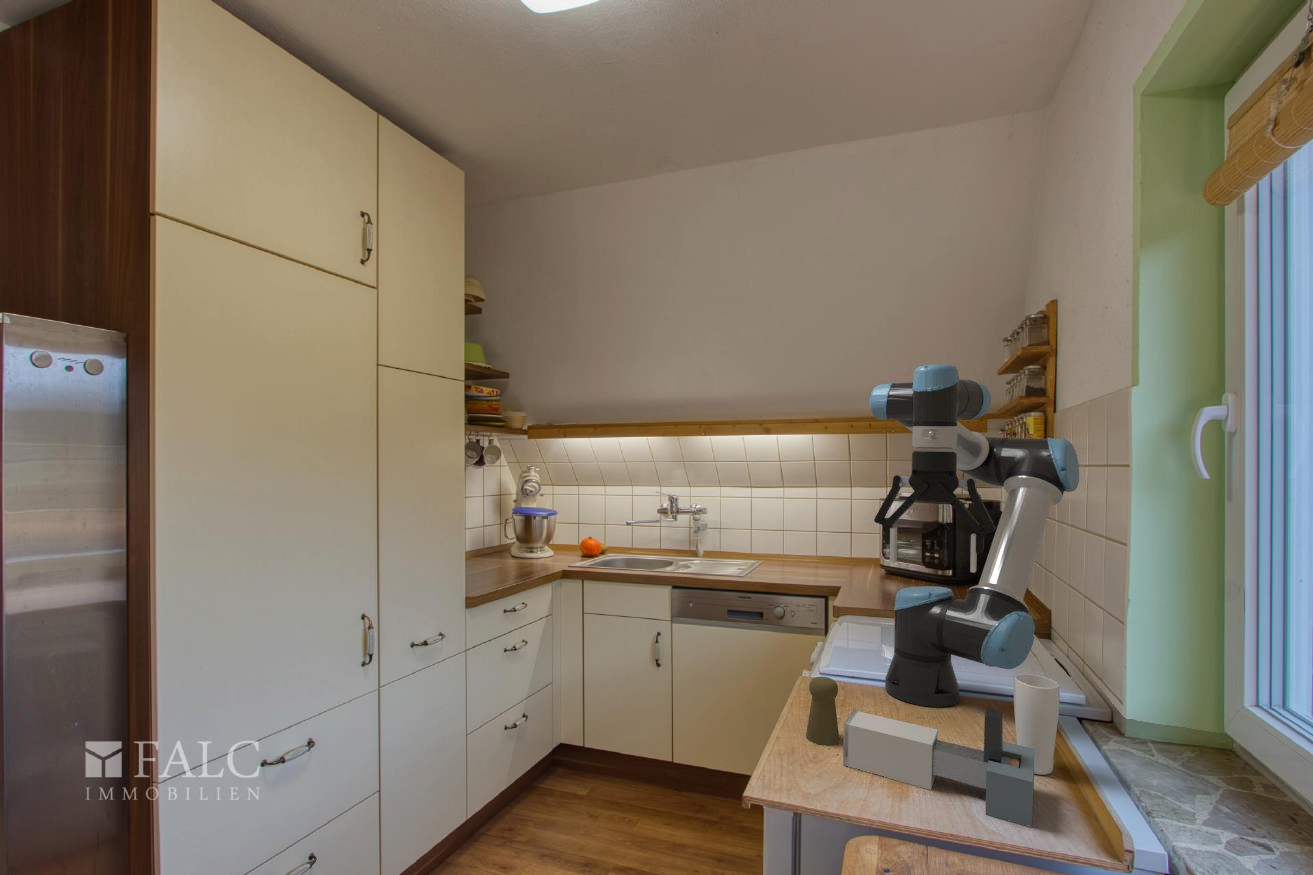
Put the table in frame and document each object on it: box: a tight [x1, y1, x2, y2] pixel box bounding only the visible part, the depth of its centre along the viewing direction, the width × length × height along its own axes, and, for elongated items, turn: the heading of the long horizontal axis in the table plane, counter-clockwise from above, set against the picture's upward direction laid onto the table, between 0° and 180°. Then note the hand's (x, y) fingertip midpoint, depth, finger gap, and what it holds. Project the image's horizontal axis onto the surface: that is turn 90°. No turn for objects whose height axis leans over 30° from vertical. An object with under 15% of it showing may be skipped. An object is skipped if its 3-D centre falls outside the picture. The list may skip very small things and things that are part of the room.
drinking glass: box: [1013, 673, 1061, 776], centre depth 112 cm, size 7×7×15 cm
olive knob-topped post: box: [805, 676, 840, 746], centre depth 122 cm, size 6×6×11 cm
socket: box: [985, 741, 1035, 827], centre depth 101 cm, size 12×6×7 cm, turn 149°
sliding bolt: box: [932, 707, 1019, 789], centre depth 105 cm, size 4×18×11 cm, turn 59°
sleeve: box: [842, 709, 939, 791], centre depth 111 cm, size 6×14×7 cm, turn 59°
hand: (932, 566), depth 119 cm, fingers open, 13 cm apart
